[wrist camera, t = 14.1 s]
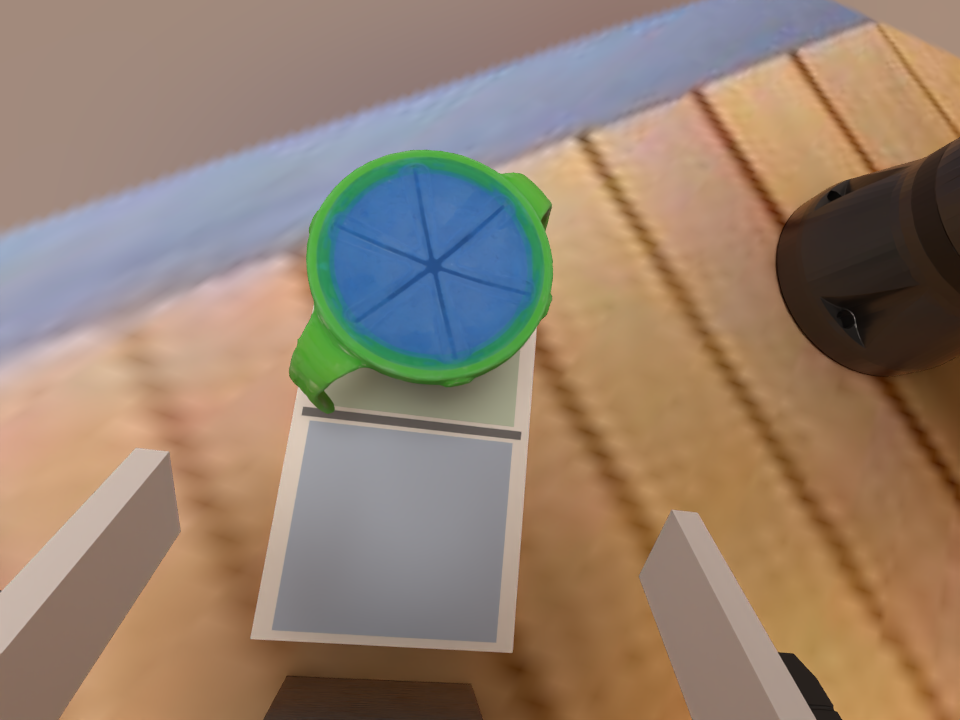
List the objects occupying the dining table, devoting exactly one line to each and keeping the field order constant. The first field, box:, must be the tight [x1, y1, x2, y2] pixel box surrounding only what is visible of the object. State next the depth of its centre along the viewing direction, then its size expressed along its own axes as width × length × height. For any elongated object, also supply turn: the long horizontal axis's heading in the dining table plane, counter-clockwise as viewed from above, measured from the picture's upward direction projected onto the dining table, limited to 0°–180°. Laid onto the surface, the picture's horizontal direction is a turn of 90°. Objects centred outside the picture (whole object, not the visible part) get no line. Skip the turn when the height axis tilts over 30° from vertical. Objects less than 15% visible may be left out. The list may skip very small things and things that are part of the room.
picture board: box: [250, 306, 537, 653], centre depth 29 cm, size 14×25×1 cm, turn 174°
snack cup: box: [289, 150, 553, 414], centre depth 25 cm, size 16×10×10 cm
